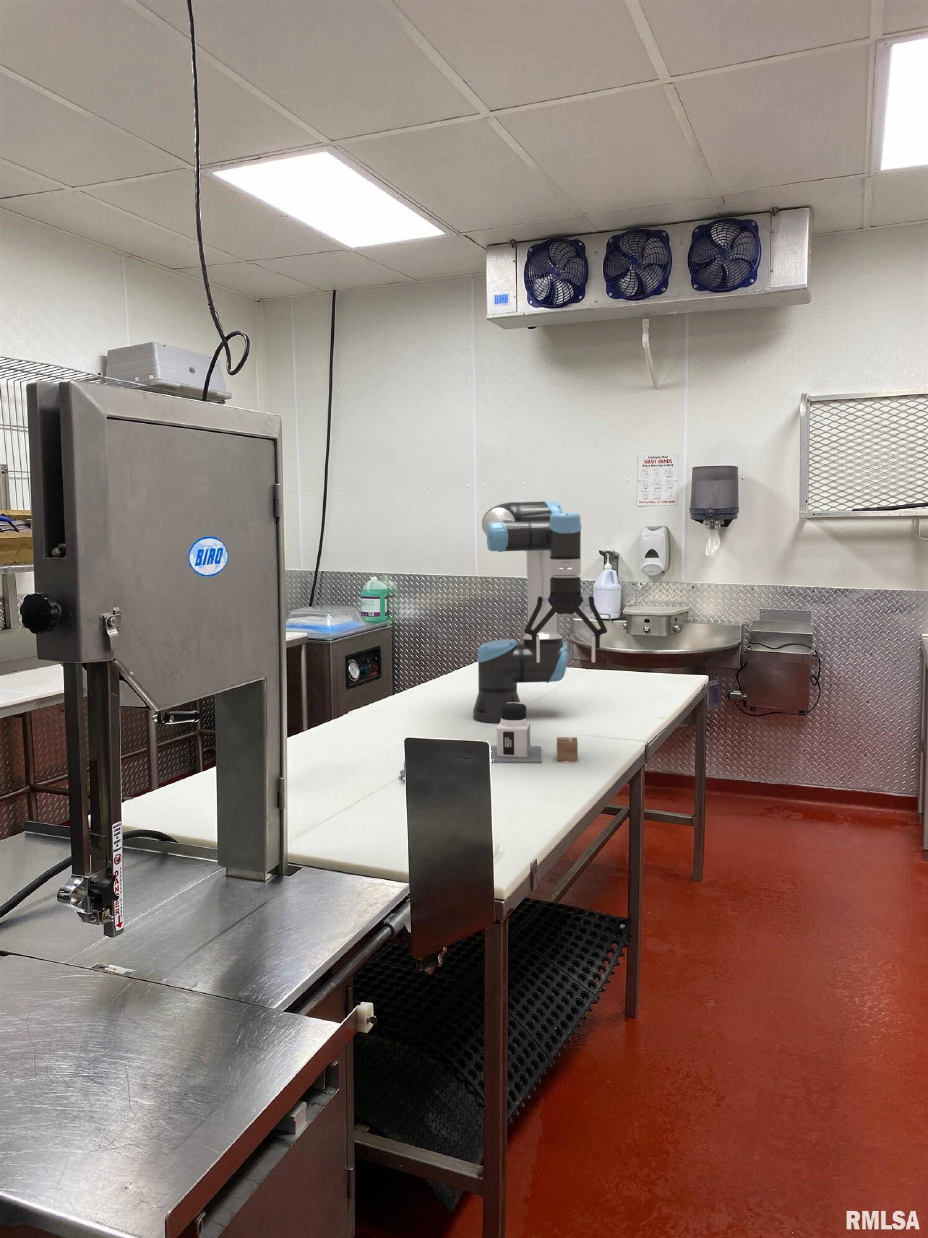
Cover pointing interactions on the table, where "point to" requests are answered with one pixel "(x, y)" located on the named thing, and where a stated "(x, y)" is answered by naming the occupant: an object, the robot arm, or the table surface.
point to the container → (513, 731)
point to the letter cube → (567, 749)
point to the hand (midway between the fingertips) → (565, 661)
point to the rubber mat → (532, 757)
